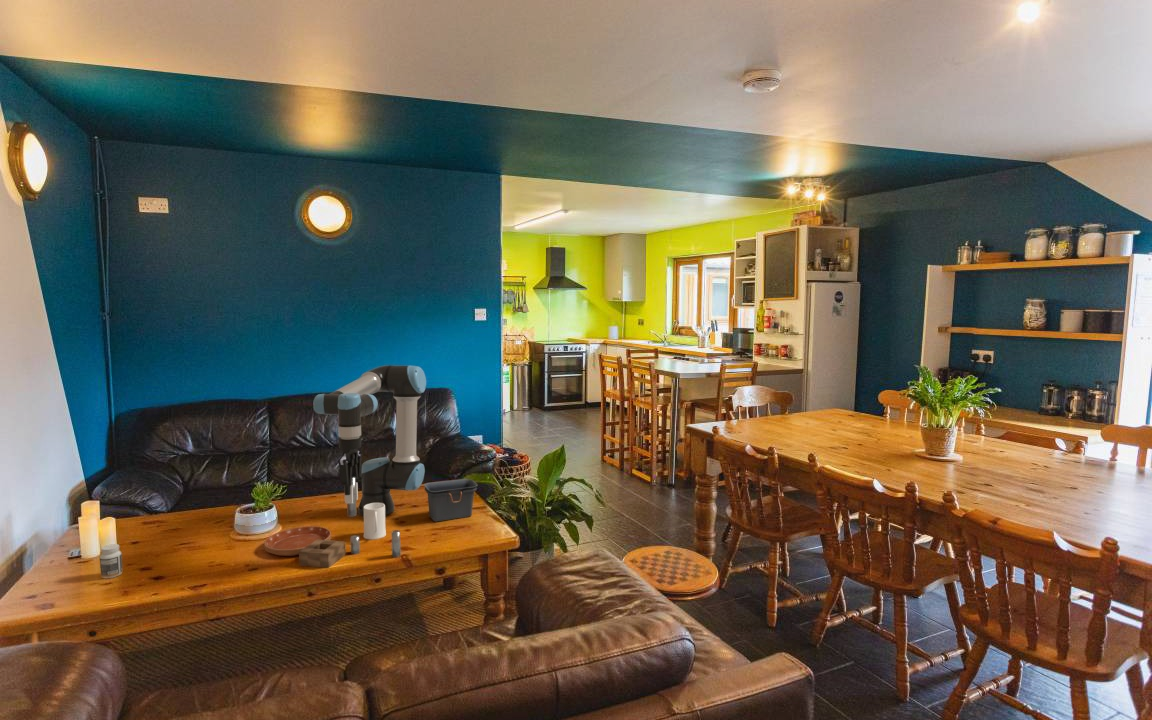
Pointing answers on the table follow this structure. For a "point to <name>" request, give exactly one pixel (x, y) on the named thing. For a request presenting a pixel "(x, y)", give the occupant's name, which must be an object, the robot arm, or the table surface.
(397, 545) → the medium pin
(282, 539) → the saucer
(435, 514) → the storage bin
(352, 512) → the long pin
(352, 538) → the short pin
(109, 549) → the pill bottle
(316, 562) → the socket block
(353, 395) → the robot arm
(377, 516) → the mug
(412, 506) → the table surface
